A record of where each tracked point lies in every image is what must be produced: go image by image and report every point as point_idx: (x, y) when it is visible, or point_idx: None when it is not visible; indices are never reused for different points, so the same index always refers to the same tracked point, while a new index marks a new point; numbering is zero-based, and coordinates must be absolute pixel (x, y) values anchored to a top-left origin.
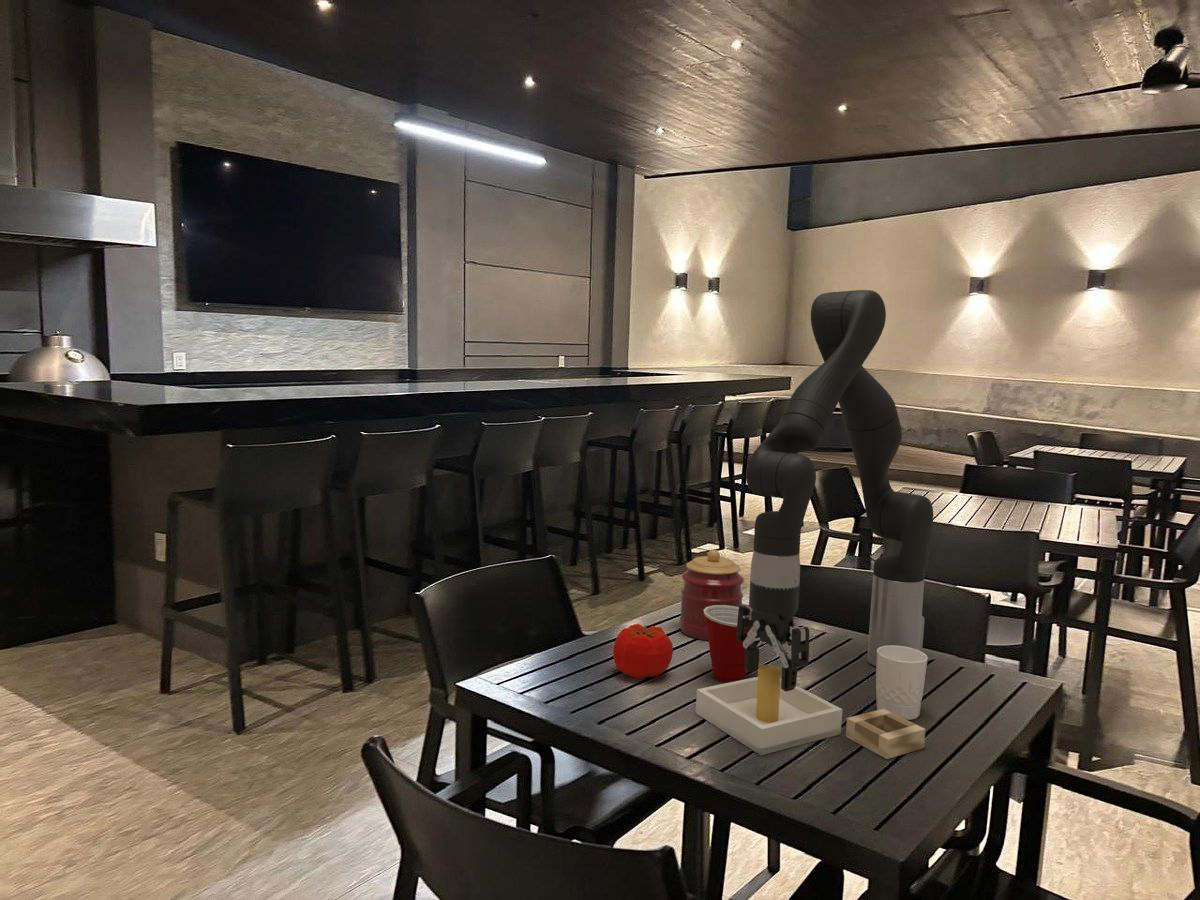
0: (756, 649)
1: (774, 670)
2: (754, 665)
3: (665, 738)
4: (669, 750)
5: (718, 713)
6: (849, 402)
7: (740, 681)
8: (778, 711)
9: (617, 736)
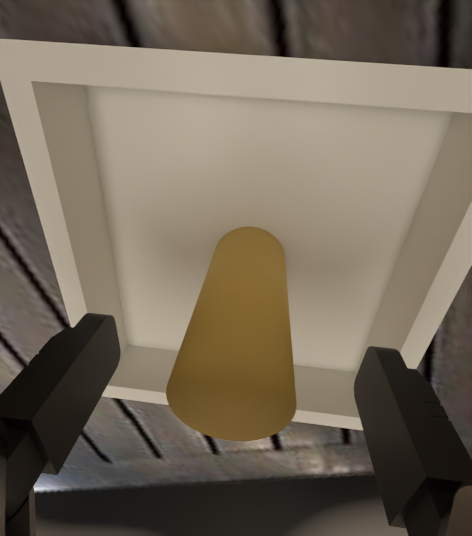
0: (41, 436)
1: (263, 401)
2: (101, 352)
3: (199, 434)
4: (239, 450)
5: None
6: None
7: (61, 261)
8: (282, 258)
9: (160, 467)
